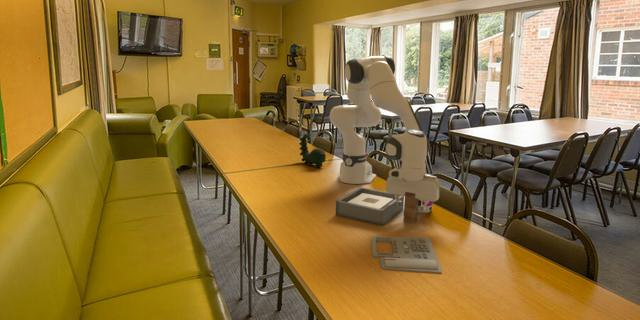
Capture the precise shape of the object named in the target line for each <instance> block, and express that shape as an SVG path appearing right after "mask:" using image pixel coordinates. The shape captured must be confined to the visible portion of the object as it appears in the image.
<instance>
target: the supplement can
mask: <svg viewBox="0 0 640 320" xmlns="http://www.w3.org/2000/svg"><path fill="white" fill-rule="evenodd" d="M425 175H428V176H434V175H433V174H430V173H426V172H425ZM424 204H425V203H424V200H422V199H418V211H417V213H419V214H428V213H431V211H433V204H434V202H433V201H429V202H428V204H427V205H426V209H425V211H421V210H420V209H421V206H422V205H424Z"/></svg>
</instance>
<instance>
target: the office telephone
mask: <svg viewBox="0 0 640 320" xmlns="http://www.w3.org/2000/svg"><path fill="white" fill-rule="evenodd" d="M376 242H381V243H382V242H383V243H391V245H392V248H393V249H392V250H393V252H379V251H377V243H376ZM371 248H372V249H371V250H372V251H371V253H372V257H373V258H374V259H375V258H376V259H378V258H380V261H379V262H380V269H382V270H386V271H387V270H388V271H389V270H390V271H403V272H412V273H413V272H416V273H430V274H442V273H443V271H442V268H441V265H440V262H439V260H438V257H437V254H436V252H435V249H434V247H433V244H432V240H431V238H430V237H421V236H419V237H417V236H396V237H390V236H375V235H374V236H373V235H372V237H371Z"/></svg>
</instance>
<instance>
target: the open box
mask: <svg viewBox="0 0 640 320" xmlns="http://www.w3.org/2000/svg"><path fill="white" fill-rule="evenodd" d="M399 199H400V201H402V206H397V201H396V199H395V197H394V194H389V193H387V192H386V191H383V190H376V189H373V188H372V189H371V188H365V187H362V186H361V187H358V188H357V189H355V190H353V191H352V192H350V193H348V194H346V195H344V196H343V197H341V198H339V199H337V200H335V216H336V217H342V218H346V219H350V220H355V221H358V222H362V223H363V222H364V223H366V224H370V225H376V226H380V227H383V226H384V225H385V224H386V223H388V222H389V221H390V220H392V218H394V217H395V216H396V215H397V214H399V213H401V211H402V210H403V211H404V203H405V196H399Z"/></svg>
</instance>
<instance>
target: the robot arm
mask: <svg viewBox="0 0 640 320" xmlns="http://www.w3.org/2000/svg"><path fill="white" fill-rule="evenodd" d="M395 73H396V63H395V61H394V58H392V57H391V56H389V55H386V54H383V55H369V56H365V57H359V58H353V59H352V58H351V59H350V60H348V61H346V63H345V66H344V74H345V80H346V81H347V89H346V90H347V91H346V97H347V99H348V101H350V102H351V103H352V104H342V105H341V104H340V105H336V106H333V107H332V108H331V109H330V112H329V120H330V123H331V124H332V125H333V126H335V127H336V128H337V129H338V131H339V133H340V135H341V137H342V141H343V142H342V143H343V152H342V157H341V159H342V161H341V162H340V166H339V173H338V174H339V175H337V179H339V181H340V182H341V183H344V184H350V185H351V184H353V185H357V184H358V185H359V184H360V185H361V184H371V183H372V182H373V180H375V178H376V177H377V173H373V167H372V164H370V163H369V162H368V161H367V160H368V159H367V158H369V156H370V155H369V152H366V138H365V137H364V136H363V135H361V134H360V133H358V132H356V131H355V128H369V127H370V128H371V127H374V126H375V127H376V126H378V125H379V123H380V122H381V120H382V112H381V110H384V111H388V112H389V113H391V114H395V115H396V116H397V117H399V118H400V120H401V121H402V124H403V125H404V128H405V131H404V132H403V133H401V134H399V135H393V136H391V137H389V138H388V139H387V141H386V143H385V146H384V149H385V150H384V151H385V154H386V156H387V158H388V159H390V160H392V161H400V162H401V166H399V167H395V168H392V169H390V170H389V171H388V177H387V179H386V183H385V192H387V193H389V194H394V197H395V199H396V201H397V206H402V201H400V199H399V196H404V197H405V192H410V193H415V196H414V197H415V198H416V199H422V200H424V203H425V204H424V205H422V206H421V209H420V210H421V211H425V209H426V205H427V204H428V202H429V201H433V203H434V202H436V201H439V198H440V187H441V180H440V178H438V177H437V176H434V175H433V176H428V175H425V173H426V166H427V165H426V158H427V155H428V154H429V152H430V149H431V143H430V141H429V138H428V137H427V136H426V133H425V132H424V130H423V129H422V127H421V125H420V121H419V119H418V118H417V115H416V113H415V111H414V109H413V108H414V107H412V105H411V102H410V101H409V100H408V99H407V98H406V97H405V96H404V95H403V94H402V92H401V91H400V89H399V86H398V84H397V80H396V78H395V75H394V74H395Z"/></svg>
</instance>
